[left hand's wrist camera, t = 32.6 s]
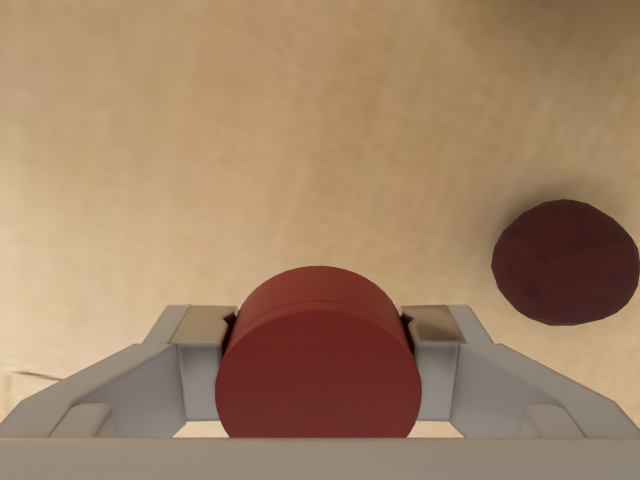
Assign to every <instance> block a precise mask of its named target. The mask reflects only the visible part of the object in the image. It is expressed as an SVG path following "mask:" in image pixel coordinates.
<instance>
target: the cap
mask: <svg viewBox="0 0 640 480" xmlns="http://www.w3.org/2000/svg"><path fill="white" fill-rule="evenodd" d="M421 401H422V385H421V378H420V375H419V371H418V368H417V365H416V362H415V359H414V356H413V353H412V350H411V348H410V345H409V342H408V339H407V335H406V332H405V329H404V326H403V324H402V321H401V318H400V315H399V313H398V311H397V309H396V307H395V305H394V304H393V302H392V301H391V299H390V298H389V297H388V296H387V295H386V293H385V292H384V291H382V290H381V289H380V288H379V287H378V286H377V285H376V284H374V283H373V282H371V281H370V280H368V279H367V278H365V277H363V276H361V275H359V274H357V273H354V272H351V271H348V270H345V269H341V268H336V267H328V266H308V267H301V268H296V269H292V270H289V271H285V272H283V273H281V274H278V275H276V276H274V277H272V278H270V279H269V280H267V281H265V282H264V283H263V284H261V285H260V286H259V287H257V288H256V289H255V290H254V291H253V292H252V293H251V294H250V295H249V296H248V298H247V299H246V300H245V302H244V303H243V304H242V306H241V308H240V310H239V312H238V314H237V317H236V319H235V323H234V326H233V328H232V331H231V334H230V337H229V341H228V344H227V347H226V350H225V353H224V356H223V359H222V361H221V365H220V367H219V370H218V373H217V378H216V383H215V403H216V409H217V412H218V416H219V419H220V421H221V423H222V425H223V428H224V429H225V431H226V433H227V434H228V436H229V437H230V438H406V437H407V436H408V435H409V433H410V432H411V430H412V428H413V426H414V425H415V422H416V420H417V417H418V415H419V411H420V406H421Z"/></svg>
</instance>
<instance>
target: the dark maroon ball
mask: <svg viewBox="0 0 640 480" xmlns="http://www.w3.org/2000/svg"><path fill="white" fill-rule="evenodd" d="M491 268H492V271H493V274H494V277H495V280H496V283H497V286H498V288H499V290H500V291H501V293H502V294H503V295H504V297H505V298H506V299H507V300H508V301H509V302H510V303H511V304H512V305H513V307H514V308H515V309H516V310H517V311H518V312H520V313H522V314H523V315H525V316H526V317H528V318H530V319H533V320H536V321H538V322H541V323H544V324H547V325H550V326H574V325H578V324H583V323H588V322H592V321H597V320H601V319H604V318H606V317H608V316H610V315H613V314H615V313H617V312H618V311H619V310H620V309H622V308H623V307H624V306H625V305H626V304H627V303H628V302H629V300H630V299H631V298H632V296H633V294H634V292H635V290H636V288H637V286H638V281H639V274H640V259H639V253H638V248H637V246H636V244H635V243H634V241H633V239H632V238H631V236H630V235H629V234H628V233H627V232H626V231H625V230H624V229H623V227H622V226H620V225H619V224H618V223H617V222H616V221H615V220H614V219H613V218H611V217H610V216H608V215H606V214H605V213H603V212H601V211H600V210H598V209H596V208H594V207H593V206H591V205H589V204H587V203H583V202H578V201H574V200H565V199H563V200H555V201H548V202H544V203H542V204H540V205H538V206H536V207H534V208H532V209H530V210H528V211H526V212H524V213H523V214H522V215H521V216H519V217H518V218H517V219H516V220H515V221H514V222H513V223H512V224H511V225H510V226H508V227H507V228H506V229H505V230H504V231H503V232H502V234H501V236H500V238H499V240H498V241H497V243H496V245H495V248H494V251H493V258H492V264H491Z"/></svg>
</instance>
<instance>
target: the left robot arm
mask: <svg viewBox="0 0 640 480" xmlns="http://www.w3.org/2000/svg"><path fill="white" fill-rule="evenodd" d="M238 312H239V311H238V308H237V306H216V305H168V306H166V308H165V309H164V311H163V312H162V314H161V315H160V317H159V318H158V320H157V321H156V323H155V324H154V326H153V327H152V329H151V330H150V332H149V333H148V335H147V336H146V338H145V339H144V341H143V342H142V344H133V345H131V346H129V347H127V348H125V349H123V350H121V351H119V352H117V353H115V354H113V355H111V356H109V357H107V358H105V359H103V360H101V361H99V362H97V363H95V364H93V365H91V366H89V367H87V368H85V369H83V370H81V371H79V372H77V373H75V374H73V375H71V376H70V377H68V378H66V379H64V380H62V381H60V382H58V383H56V384H54V385H52V386H50V387H48V388H46V389H44V390H42V391H40V392H38V393H36V394H34V395H32V396H30V397H28V398H26V399H24V400H22V401H20V403H19V404H18V405H17V406H16V407H15V408H14V409H13V410H12V411H11V412H10V413H9V415H8V416H7V417H6V418H5V419H4V420H3V421H2V422H1V423H0V480H640V429H639V428H638V427H637V426H636V425H635V423H634V422H633V421H632V420H631V419H630V418H629V417H628V416H627V415H626V413H625V412H624V411H623V410H622V409H621V408H620V407H619V406H618V404H617V403H616V402H615V401H613V400H611V399H609V398H607V397H605V396H603V395H601V394H599V393H597V392H595V391H593V390H591V389H589V388H587V387H585V386H583V385H581V384H579V383H577V382H576V381H574V380H572V379H570V378H568V377H566V376H564V375H562V374H560V373H558V372H556V371H554V370H552V369H550V368H548V367H546V366H544V365H542V364H540V363H538V362H536V361H534V360H532V359H530V358H528V357H527V356H525V355H523V354H521V353H519V352H517V351H515V350H513V349H511V348H509V347H507V346H505V345H503V344H494V342H493V341H492V339H491V338H490V336H489V335H488V333H487V332H486V330H485V329H484V327H483V326H482V324H481V322H480V321H479V319H478V318H477V316H476V315H475V313H474V312H473V310H472V309H471V307H470V306H468V305H466V304H465V305H422V306H400V307H399V310H398V313H399V315H400V318H401V321H402V324H403V326H404V329H405V332H406V335H407V339H408V342H409V345H410V348H411V350H412V353H413V356H414V359H415V362H416V365H417V368H418V371H419V375H420V378H421V385H422V401H421V406H420V411H419V415H418V417H417V420H416V421H447V422H450V424H451V425H452V426H453V427H454V428H455V429H456V430H458V431H459V432H460V433H461V434H462V435H463V436H464V437H465V438H171V437H173V436H174V435H175V434H176V433H177V432H178V431H179V430H180V429H181V428H182V427H183V426H184V425H185V424H186V422H189V421H220V419H219V416H218V412H217V409H216V403H215V383H216V378H217V373H218V370H219V367H220V365H221V361H222V359H223V356H224V353H225V350H226V347H227V344H228V341H229V337H230V334H231V331H232V328H233V326H234V323H235V319H236V317H237V314H238Z"/></svg>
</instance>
